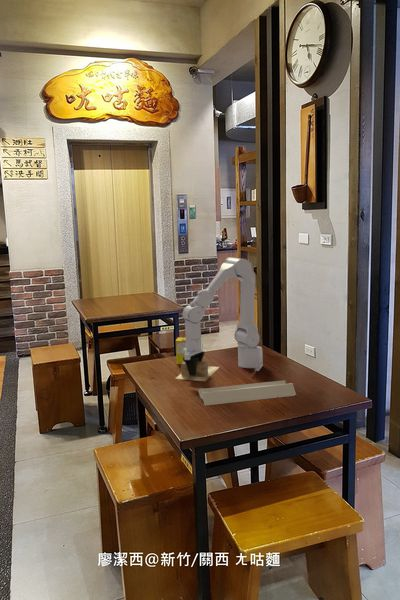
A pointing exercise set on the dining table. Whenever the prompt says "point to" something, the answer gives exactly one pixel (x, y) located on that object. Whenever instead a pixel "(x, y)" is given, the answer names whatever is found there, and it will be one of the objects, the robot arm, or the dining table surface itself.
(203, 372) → the block
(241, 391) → the crown molding
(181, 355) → the supplement box
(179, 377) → the birch board
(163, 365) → the dining table surface
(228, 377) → the dining table surface
